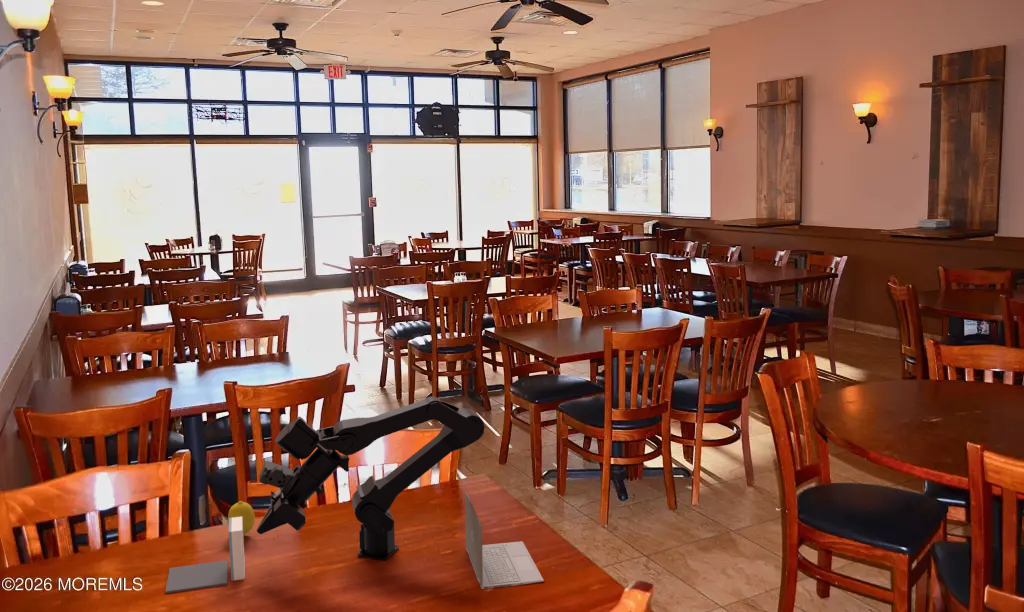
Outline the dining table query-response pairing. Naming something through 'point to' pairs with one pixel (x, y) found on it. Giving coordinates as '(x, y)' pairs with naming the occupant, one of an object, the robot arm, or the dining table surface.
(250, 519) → the lemon
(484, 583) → the laptop
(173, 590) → the mat
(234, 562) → the white rectangular block
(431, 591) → the dining table surface
